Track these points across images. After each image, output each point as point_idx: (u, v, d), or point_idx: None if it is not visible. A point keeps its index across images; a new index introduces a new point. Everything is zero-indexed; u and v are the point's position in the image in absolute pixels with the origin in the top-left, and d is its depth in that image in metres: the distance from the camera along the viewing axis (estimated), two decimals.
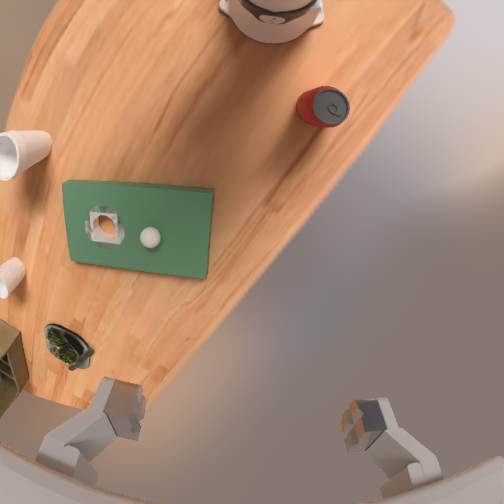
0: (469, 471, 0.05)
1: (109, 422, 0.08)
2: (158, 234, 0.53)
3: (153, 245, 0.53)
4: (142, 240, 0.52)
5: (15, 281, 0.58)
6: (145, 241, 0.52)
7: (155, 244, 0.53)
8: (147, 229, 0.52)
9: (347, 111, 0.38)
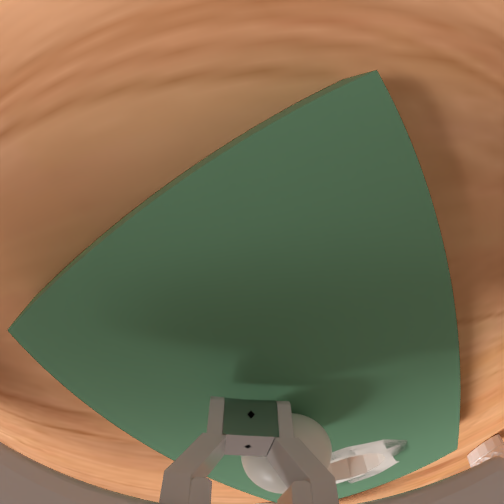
0: (469, 471, 0.05)
1: (225, 443, 0.08)
2: None
3: None
4: None
5: None
6: None
7: None
8: None
9: None
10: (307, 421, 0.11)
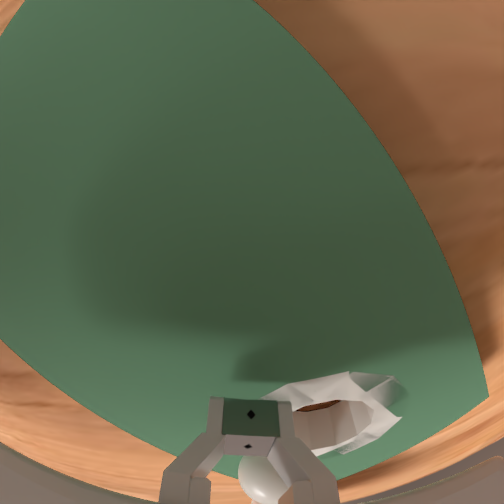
0: (469, 471, 0.05)
1: (224, 443, 0.08)
2: None
3: None
4: (276, 496, 0.10)
5: None
6: (265, 488, 0.10)
7: None
8: None
9: None
10: None
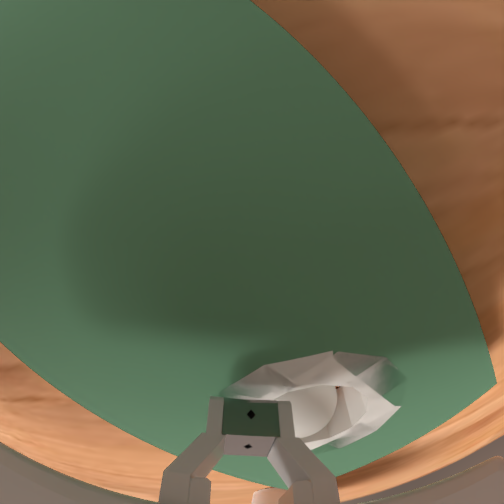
0: (469, 471, 0.05)
1: (224, 442, 0.08)
2: None
3: None
4: (307, 433, 0.12)
5: None
6: (319, 425, 0.11)
7: None
8: None
9: None
10: None
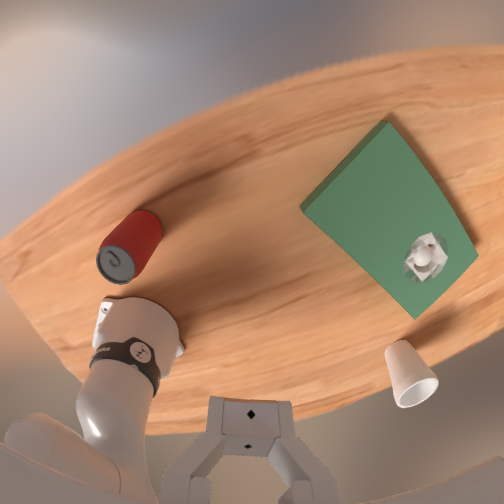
0: (469, 471, 0.05)
1: (224, 442, 0.08)
2: None
3: None
4: (428, 260, 0.43)
5: None
6: (430, 257, 0.43)
7: None
8: (421, 250, 0.43)
9: (100, 252, 0.33)
10: None
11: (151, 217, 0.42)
